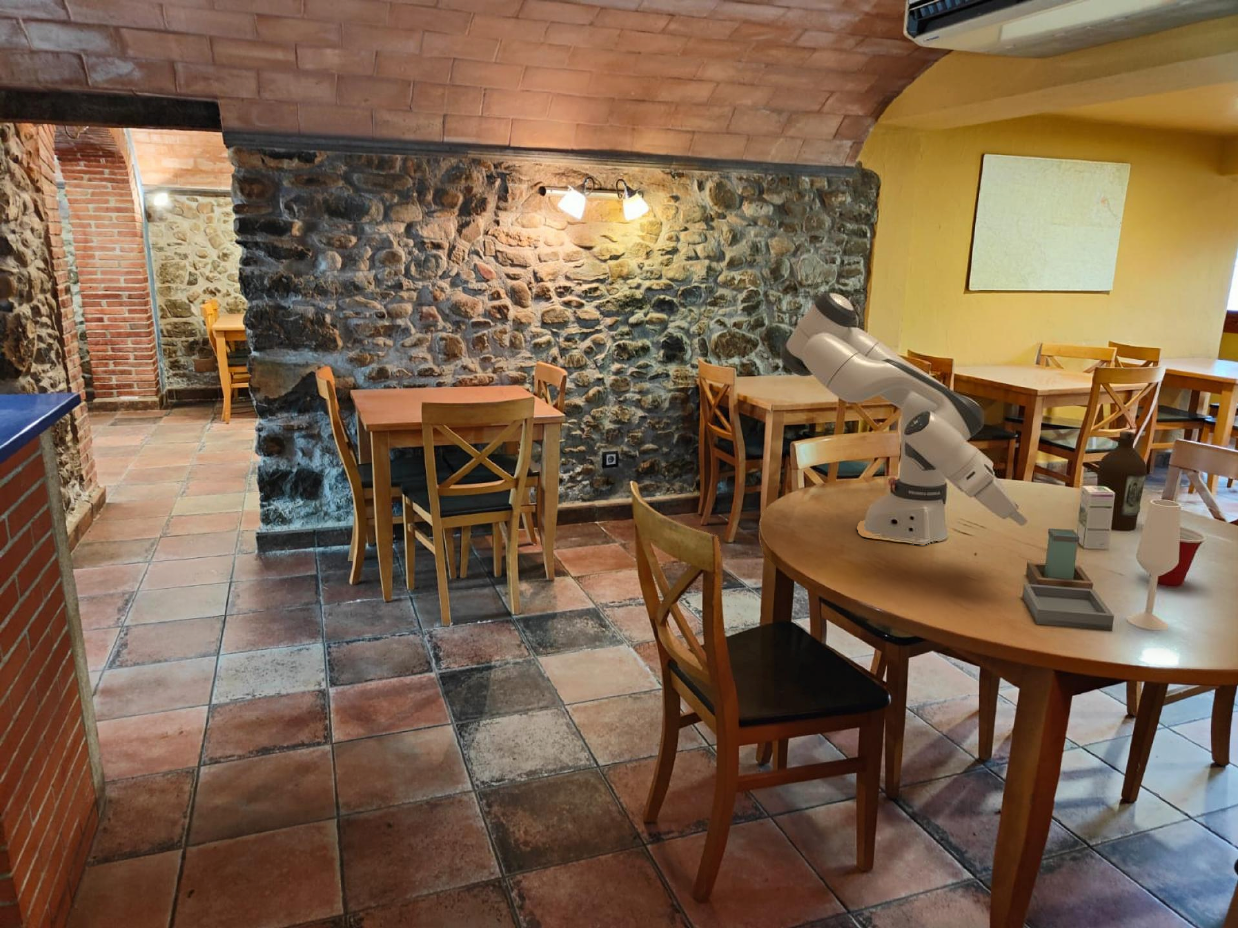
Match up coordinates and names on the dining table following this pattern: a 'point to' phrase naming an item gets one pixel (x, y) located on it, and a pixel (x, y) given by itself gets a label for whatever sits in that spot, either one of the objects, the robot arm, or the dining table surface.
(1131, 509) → the olive oil
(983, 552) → the dining table surface
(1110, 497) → the syrup box
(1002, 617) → the dining table surface
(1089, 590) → the grey tray
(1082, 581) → the walnut collar
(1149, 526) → the champagne flute
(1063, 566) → the pin
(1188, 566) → the plastic cup
